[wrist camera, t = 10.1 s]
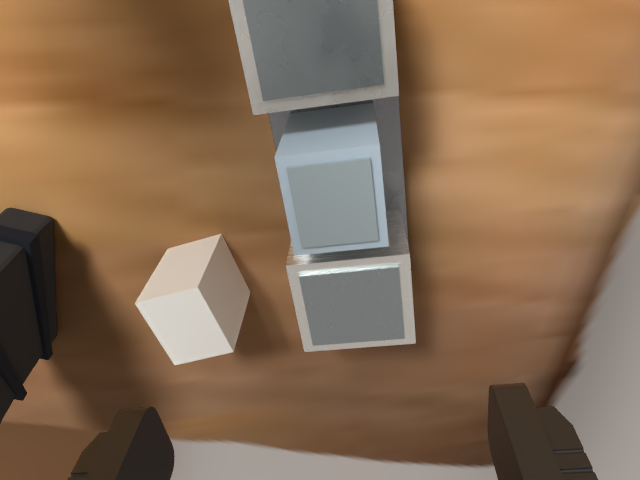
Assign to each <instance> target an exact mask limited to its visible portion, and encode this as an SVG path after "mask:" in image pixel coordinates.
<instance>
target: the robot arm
mask: <svg viewBox="0 0 640 480" xmlns="http://www.w3.org/2000/svg"><path fill="white" fill-rule="evenodd" d="M488 438H489V445H490V451H491V455H492V459H493V463H494V466H495V470H496V473H497V477H498V480H598V479H597V477H596V474H595V473H594V472H593V470H592V466H591V464H590V461H589V459H588V457H587V455H586V453H584V450H583V447H582V444H581V442H580V440H579V438H578V436H577V434H576V432H575V429H574V427H573V425H572V424H571V423H570V422H569V421H568V420H567V419H566V418H565V417H564V416H563V415H562V414H561V413H560V412H559V411H558V410H557V409H556V408H555V407H554V406H550V407H535V405H534V403H533V401H532V398H531V396H530V393H529V391H528V388H527V387H526V385H525V384H524V383H516V384H501V385H490V387H489V405H488ZM173 467H174V450H173V446H172V443H171V441H170V439H169V436H168V434H167V432H166V430H165V428H164V425H163V423H162V421H161V419H160V417H159V414H158V412H157V410H156V409H155V408H154V407H140V408H125V409H121V410H120V411H119V412H118V413H117V415H116V417H115V419H114V421H113V423H112V425H111V427H110V429H109V431H108V432H104V433H99V434H98V435H97V436H96V438H95V439H94V440H93V441H92V442H91V443H90V444H89V445H88V446H87V447H86V448H85V450H84V451H83V452H82V453H81V455H80V457H79V459H78V461H77V463H76V465H75V467H74V469H73V471H72V472H71V477H69V478H68V480H170V478H171V475H172V472H173Z"/></svg>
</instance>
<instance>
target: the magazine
mask: <svg viewBox="0 0 640 480" xmlns="http://www.w3.org/2000/svg"><path fill="white" fill-rule="evenodd" d="M56 336H57V322H56V289H55V255H54V222H53V219H52V218H51V217H49V216H45V215H41V214H36V213H32V212H28V211H23V210H19V209H15V208H7V209H6V210H4V211H3V212H2V213H1V214H0V423H1V421H2V419H3V417H4V415H5V414H6V412H7V410H8V408H9V407H10V405H11V403H12V402H13V400H14V399H17V400H24V398H25V396H26V394H27V392H26V390H25V388H24V386H23V383H24V382H25V380H26V378H27V377H28V375H29V374H30V372H31V371H32V369H33V368H34V366H35V365H36V363H37V362H38V360H39V359H40V358H41V359H45V360H49V358H50V357H51V356H52V354H53V353H52V344H51V343H52V341H53V340H54V339H55V337H56Z"/></svg>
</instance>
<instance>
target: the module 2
mask: <svg viewBox="0 0 640 480" xmlns="http://www.w3.org/2000/svg"><path fill="white" fill-rule="evenodd" d="M274 158H275V163H276V168H277V173H278V178H279V182H280V187H281V192H282V197H283V202H284V207H285V212H286V217H287V222H288V227H289V232H290V237H291V241H292V246H293V251H294V256H297V255H307V254H317V253H327V252H337V251H347V250H358V249H368V248H378V247H388V246H389V241H388V230H387V219H386V208H385V197H384V186H383V175H382V164H381V153H380V143H379V137H378V130H377V124H376V117H375V111H374V104H373V103H368V104H360V105H353V106H345V107H338V108H330V109H323V110H315V111H307V112H300V113H292V114H290V115H289V118H288V121H287V124H286V126H285V129H284V132H283V135H282V138H281V140H280V143H279V146H278V149H277V152H276V154H275V157H274Z"/></svg>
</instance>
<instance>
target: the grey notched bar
mask: <svg viewBox="0 0 640 480" xmlns="http://www.w3.org/2000/svg"><path fill="white" fill-rule="evenodd" d="M228 1H229V6H230V10H231V15H232V20H233V24H234V29H235V33H236V38H237V43H238V47H239V52H240V57H241V61H242V66H243V70H244V75H245V80H246V84H247V89H248V94H249V98H250V103H251V107H252V112H253V115H259V114H266V113H268V114H269V119H270V124H271V129H272V134H273V139H274V144H275V149H276V152H277V149H278V146H279V143H280V140H281V138H282V135H283V132H284V129H285V126H286V124H287V121H288V118H289V115H290V114H292V113H300V112H307V111H315V110H323V109H330V108H338V107H345V106H353V105H360V104H368V103H373V104H374V111H375V117H376V124H377V130H378V137H379V143H380V153H381V164H382V175H383V186H384V197H385V208H386V219H387V230H388V241H389V246H388V247H378V248H368V249H358V250H347V251H337V252H327V253H317V254H307V255H297V256H294V251H293V246H292V241H291V242H290V247H289V252H288V257H287V263H286V269H287V274H288V278H289V283H290V288H291V292H292V297H293V302H294V306H295V311H296V315H297V320H298V325H299V329H300V334H301V339H302V343H303V348H304V352H310V351H324V350H337V349H350V348H363V347H377V346H390V345H403V344H416V338H415V323H414V308H413V293H412V278H411V263H410V252H409V243H408V229H407V214H406V199H405V184H404V170H403V155H402V140H401V125H400V111H399V84H398V69H397V55H396V40H395V25H394V10H393V0H228Z"/></svg>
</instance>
